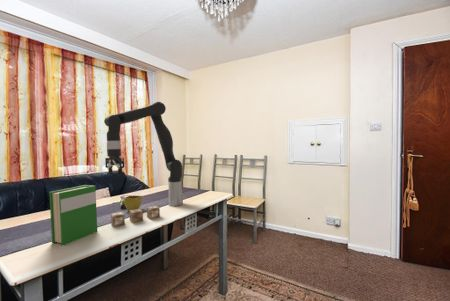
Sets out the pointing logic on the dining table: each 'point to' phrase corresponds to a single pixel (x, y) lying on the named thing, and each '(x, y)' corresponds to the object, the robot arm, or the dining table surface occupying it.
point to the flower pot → (132, 202)
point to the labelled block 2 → (153, 212)
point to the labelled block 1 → (117, 219)
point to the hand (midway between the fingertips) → (115, 174)
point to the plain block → (136, 215)
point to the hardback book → (73, 213)
